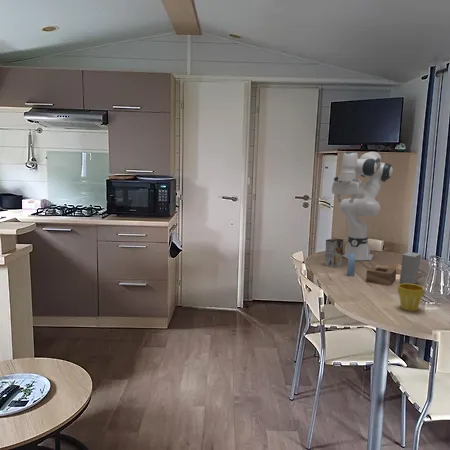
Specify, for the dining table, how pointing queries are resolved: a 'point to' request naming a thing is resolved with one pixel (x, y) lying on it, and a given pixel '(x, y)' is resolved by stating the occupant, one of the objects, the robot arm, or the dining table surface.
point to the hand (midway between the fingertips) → (344, 202)
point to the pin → (351, 264)
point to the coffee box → (334, 252)
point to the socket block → (381, 275)
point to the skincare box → (410, 268)
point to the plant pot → (410, 296)
